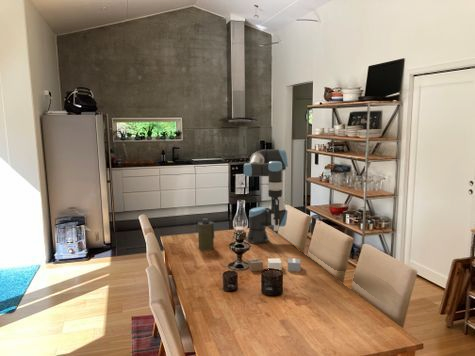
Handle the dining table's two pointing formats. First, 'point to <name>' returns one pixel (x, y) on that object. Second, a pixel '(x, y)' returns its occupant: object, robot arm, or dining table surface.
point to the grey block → (294, 264)
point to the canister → (206, 234)
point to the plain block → (275, 263)
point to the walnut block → (255, 264)
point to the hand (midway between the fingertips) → (275, 227)
